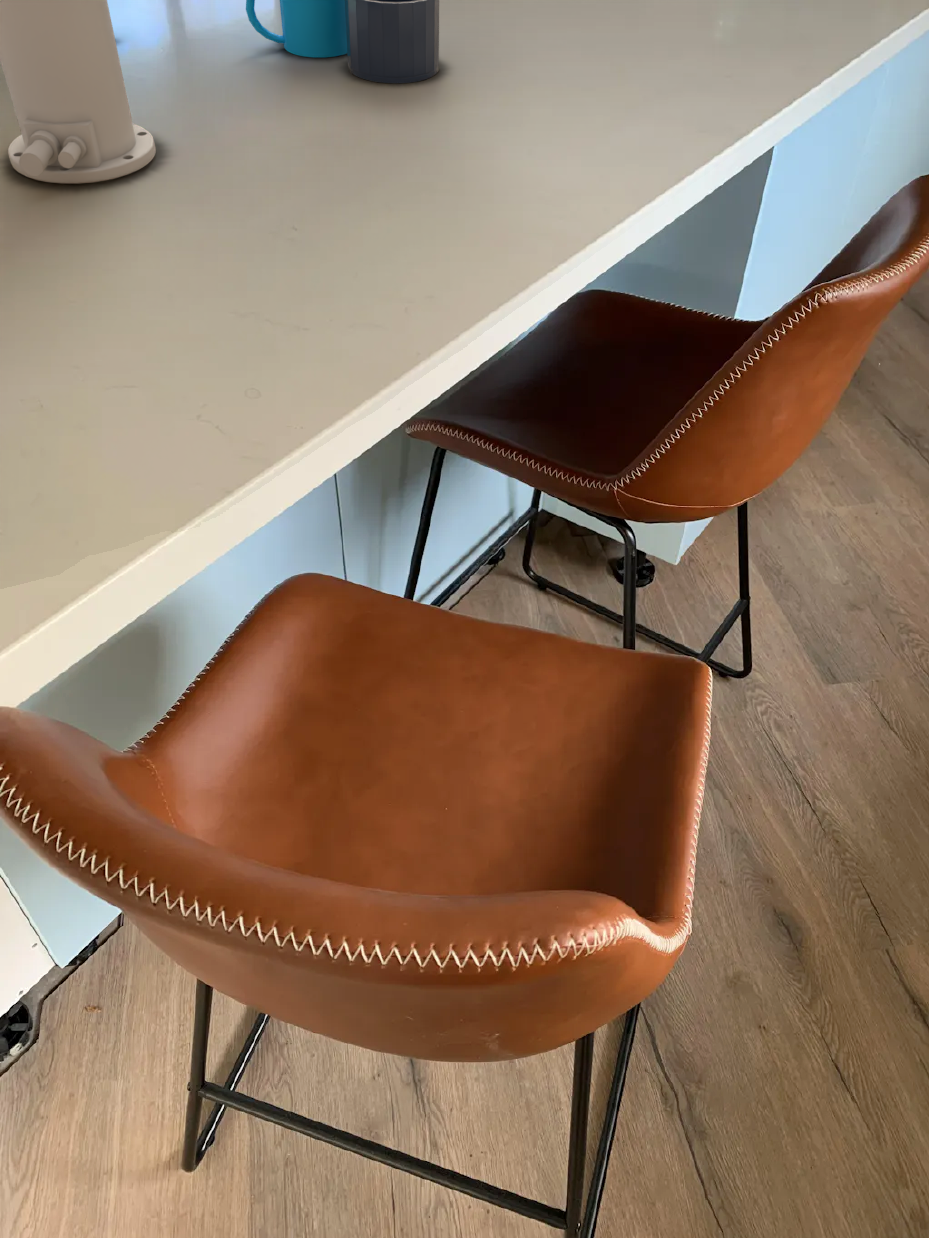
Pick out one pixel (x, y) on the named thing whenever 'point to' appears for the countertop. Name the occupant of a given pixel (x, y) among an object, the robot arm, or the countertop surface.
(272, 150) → the countertop surface
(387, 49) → the cup
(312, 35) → the mug
